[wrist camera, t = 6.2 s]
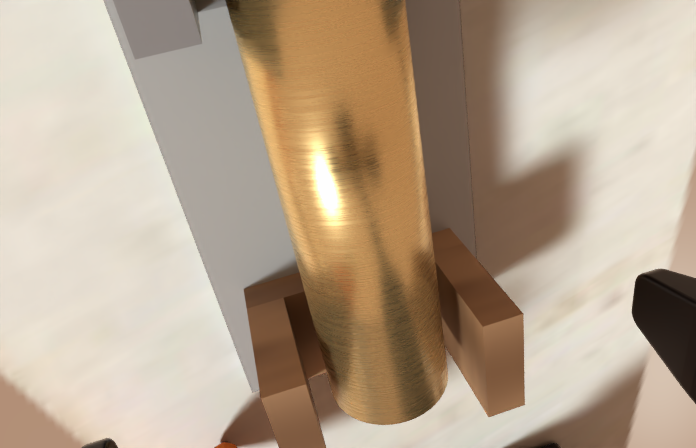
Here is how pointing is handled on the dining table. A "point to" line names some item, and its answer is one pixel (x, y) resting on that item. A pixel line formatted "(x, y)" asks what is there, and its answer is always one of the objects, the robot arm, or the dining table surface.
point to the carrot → (226, 445)
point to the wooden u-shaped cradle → (458, 329)
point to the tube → (352, 192)
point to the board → (252, 160)
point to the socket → (162, 24)
